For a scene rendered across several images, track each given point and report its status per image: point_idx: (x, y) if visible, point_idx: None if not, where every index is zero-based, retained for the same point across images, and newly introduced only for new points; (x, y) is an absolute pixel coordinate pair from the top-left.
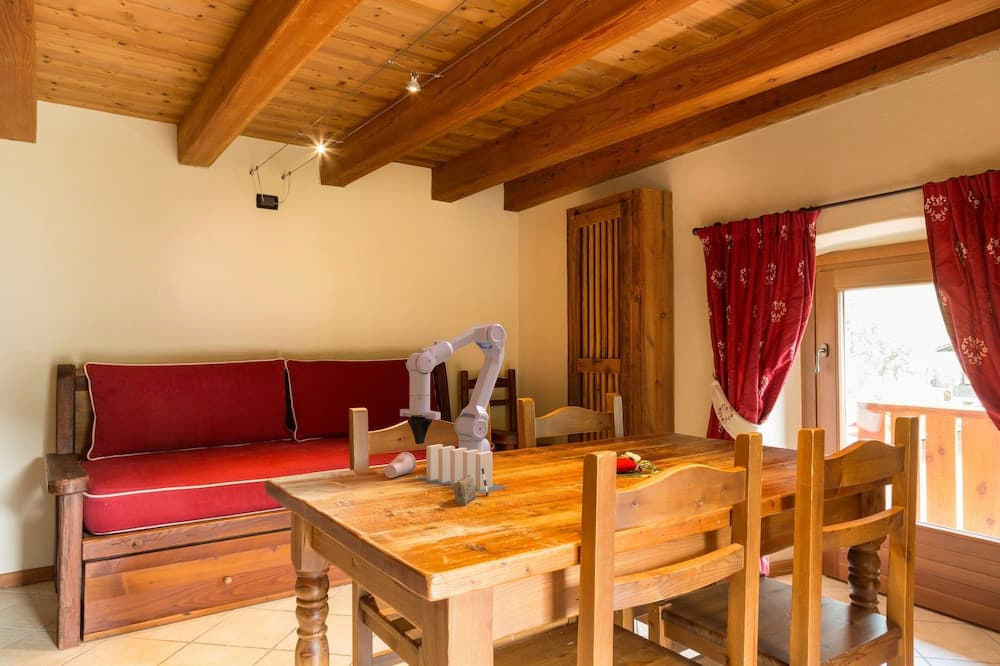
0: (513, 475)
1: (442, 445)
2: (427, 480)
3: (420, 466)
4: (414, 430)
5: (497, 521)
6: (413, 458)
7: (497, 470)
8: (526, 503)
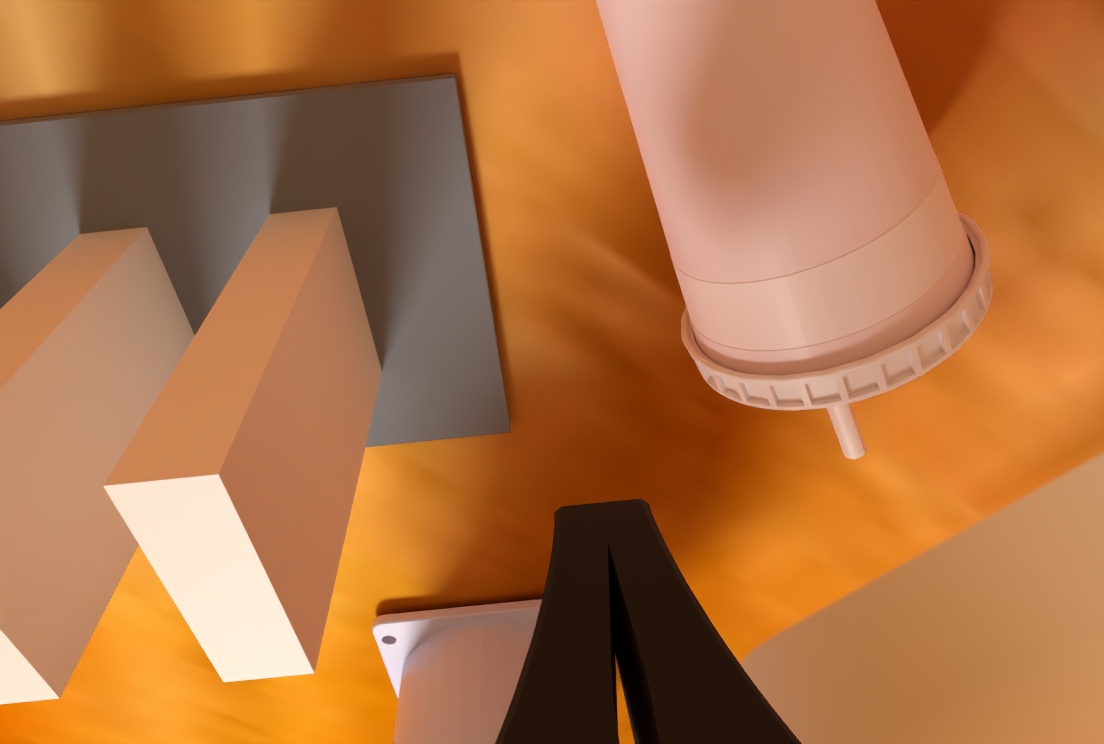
0: (126, 717)
1: (223, 665)
2: (272, 178)
3: (904, 506)
4: (665, 724)
5: None
6: (715, 369)
7: (338, 730)
8: None
